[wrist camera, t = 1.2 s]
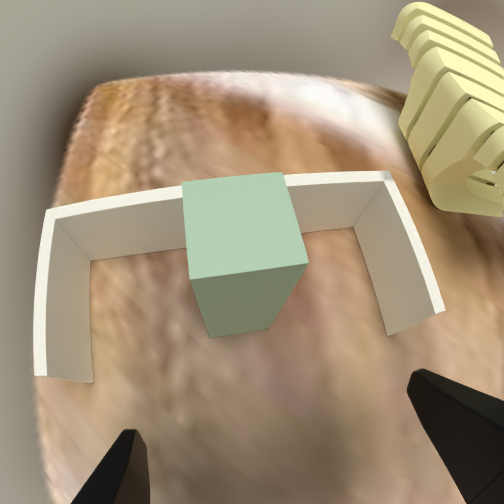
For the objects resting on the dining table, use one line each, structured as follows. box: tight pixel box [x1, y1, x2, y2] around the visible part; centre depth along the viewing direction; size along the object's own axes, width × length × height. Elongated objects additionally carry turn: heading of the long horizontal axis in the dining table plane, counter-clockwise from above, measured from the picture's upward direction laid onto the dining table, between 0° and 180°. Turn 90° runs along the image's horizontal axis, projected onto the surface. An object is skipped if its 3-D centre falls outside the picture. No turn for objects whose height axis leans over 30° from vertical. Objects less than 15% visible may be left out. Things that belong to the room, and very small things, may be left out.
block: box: [182, 172, 309, 338], centre depth 18 cm, size 4×4×12 cm
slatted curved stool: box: [391, 2, 504, 218], centre depth 25 cm, size 30×16×18 cm, turn 2°
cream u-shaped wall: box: [33, 171, 445, 383], centre depth 20 cm, size 12×26×7 cm, turn 100°
